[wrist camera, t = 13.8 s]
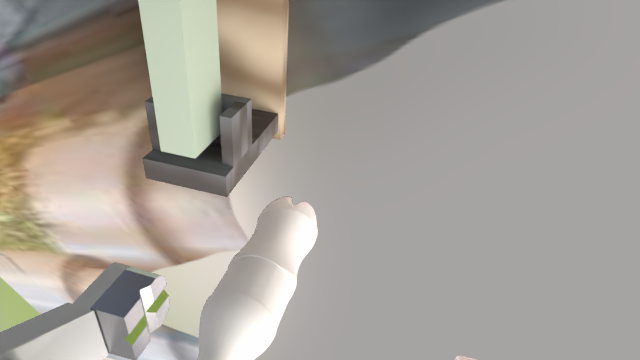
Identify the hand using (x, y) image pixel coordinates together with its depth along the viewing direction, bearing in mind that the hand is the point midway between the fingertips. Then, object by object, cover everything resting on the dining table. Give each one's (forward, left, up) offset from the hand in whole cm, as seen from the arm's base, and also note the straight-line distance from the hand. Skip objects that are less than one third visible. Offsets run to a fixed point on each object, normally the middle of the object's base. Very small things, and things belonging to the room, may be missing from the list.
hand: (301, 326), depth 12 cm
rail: (+10, -12, -24) cm, 28 cm away
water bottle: (+24, +10, -33) cm, 42 cm away
